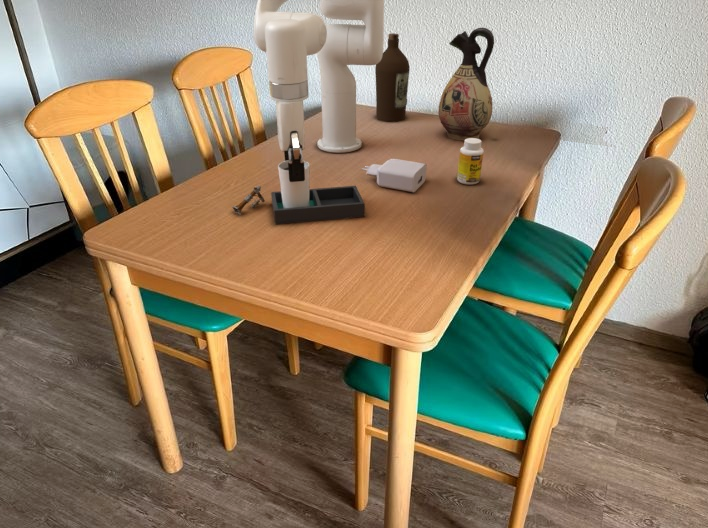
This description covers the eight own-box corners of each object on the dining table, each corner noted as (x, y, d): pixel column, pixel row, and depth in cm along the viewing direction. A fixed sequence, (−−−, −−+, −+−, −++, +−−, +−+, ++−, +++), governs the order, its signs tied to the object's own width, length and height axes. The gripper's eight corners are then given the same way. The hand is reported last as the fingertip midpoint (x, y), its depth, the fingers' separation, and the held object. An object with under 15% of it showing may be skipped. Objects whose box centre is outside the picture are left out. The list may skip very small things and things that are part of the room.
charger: (370, 171, 147) (425, 180, 142) (355, 183, 141) (412, 194, 135) (371, 153, 145) (427, 162, 139) (355, 165, 138) (413, 175, 132)
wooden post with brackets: (269, 199, 131) (261, 184, 127) (245, 222, 128) (236, 208, 125) (264, 197, 132) (256, 182, 128) (240, 220, 129) (231, 205, 126)
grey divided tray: (272, 204, 130) (271, 191, 129) (355, 198, 133) (355, 185, 131) (275, 224, 122) (274, 210, 120) (364, 216, 125) (364, 203, 123)
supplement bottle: (467, 187, 138) (472, 145, 133) (452, 180, 142) (456, 139, 137) (484, 182, 141) (489, 141, 135) (468, 175, 145) (473, 135, 139)
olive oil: (368, 118, 186) (369, 34, 172) (386, 111, 193) (388, 30, 179) (395, 124, 180) (398, 38, 167) (413, 116, 187) (417, 33, 174)
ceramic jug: (427, 139, 169) (435, 27, 152) (449, 125, 179) (458, 20, 163) (482, 149, 161) (497, 33, 144) (501, 134, 172) (516, 24, 155)
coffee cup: (313, 213, 125) (311, 169, 119) (283, 216, 123) (279, 172, 118) (309, 201, 130) (307, 158, 124) (279, 203, 129) (276, 160, 123)
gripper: (267, 79, 119) (274, 158, 129) (273, 103, 105) (280, 190, 115) (303, 77, 120) (307, 156, 130) (313, 100, 106) (317, 186, 116)
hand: (294, 172), depth 122 cm, fingers open, 9 cm apart
